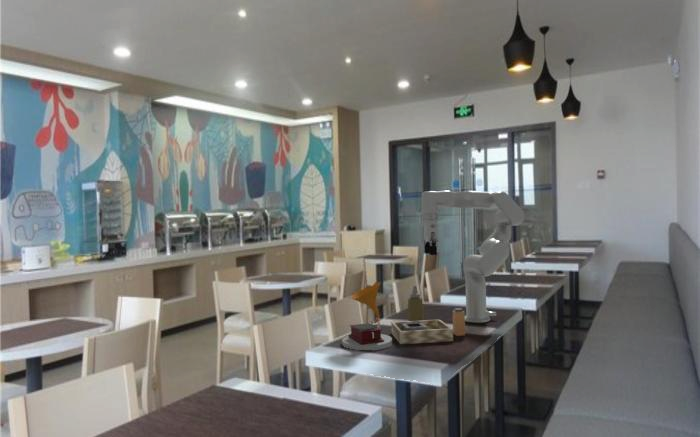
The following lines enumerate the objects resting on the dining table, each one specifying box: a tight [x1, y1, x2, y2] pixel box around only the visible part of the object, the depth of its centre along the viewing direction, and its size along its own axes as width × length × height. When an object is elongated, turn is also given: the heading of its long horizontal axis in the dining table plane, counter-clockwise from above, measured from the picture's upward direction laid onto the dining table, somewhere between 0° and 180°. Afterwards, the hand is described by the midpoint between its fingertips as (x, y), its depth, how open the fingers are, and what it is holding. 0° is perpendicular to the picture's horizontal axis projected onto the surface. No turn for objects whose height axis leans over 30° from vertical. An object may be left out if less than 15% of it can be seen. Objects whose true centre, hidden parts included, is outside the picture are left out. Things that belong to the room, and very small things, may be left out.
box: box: [390, 319, 454, 345], centre depth 207 cm, size 22×18×5 cm
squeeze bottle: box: [406, 285, 425, 321], centre depth 232 cm, size 8×8×18 cm
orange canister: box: [452, 307, 466, 337], centre depth 210 cm, size 4×4×11 cm
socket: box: [401, 322, 427, 331], centre depth 206 cm, size 9×9×4 cm
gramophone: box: [341, 281, 393, 351], centre depth 199 cm, size 20×20×25 cm
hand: (430, 254), depth 228 cm, fingers open, 9 cm apart
